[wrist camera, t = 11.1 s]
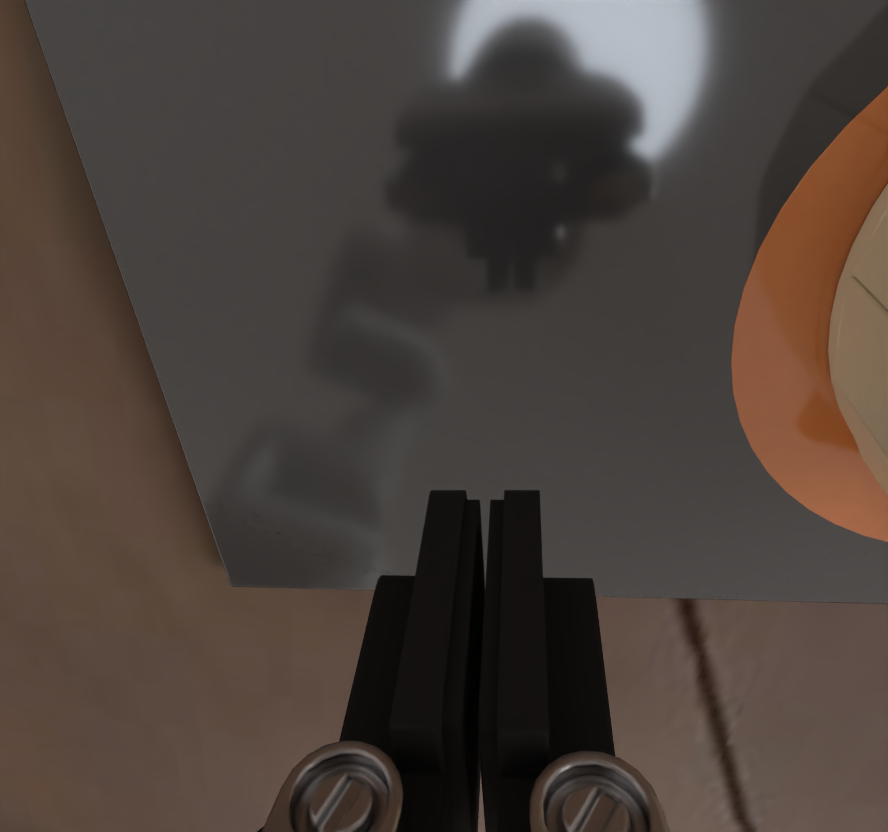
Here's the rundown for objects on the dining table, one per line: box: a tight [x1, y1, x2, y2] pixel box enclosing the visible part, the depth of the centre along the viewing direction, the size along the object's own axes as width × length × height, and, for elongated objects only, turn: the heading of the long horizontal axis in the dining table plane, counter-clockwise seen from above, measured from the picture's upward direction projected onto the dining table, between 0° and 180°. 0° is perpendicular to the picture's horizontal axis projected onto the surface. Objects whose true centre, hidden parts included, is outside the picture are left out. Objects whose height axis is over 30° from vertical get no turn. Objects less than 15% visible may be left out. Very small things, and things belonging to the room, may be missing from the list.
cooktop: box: [24, 0, 888, 604], centre depth 16 cm, size 28×18×1 cm, turn 94°
